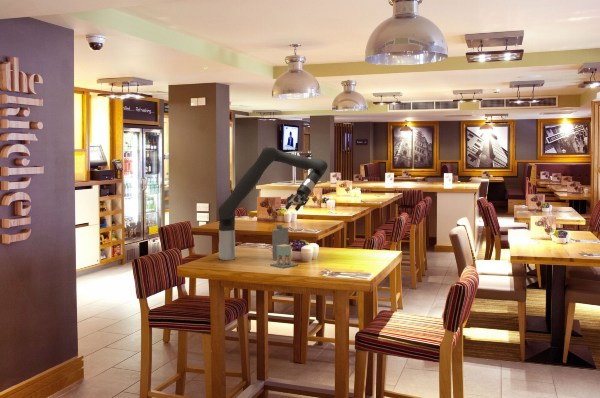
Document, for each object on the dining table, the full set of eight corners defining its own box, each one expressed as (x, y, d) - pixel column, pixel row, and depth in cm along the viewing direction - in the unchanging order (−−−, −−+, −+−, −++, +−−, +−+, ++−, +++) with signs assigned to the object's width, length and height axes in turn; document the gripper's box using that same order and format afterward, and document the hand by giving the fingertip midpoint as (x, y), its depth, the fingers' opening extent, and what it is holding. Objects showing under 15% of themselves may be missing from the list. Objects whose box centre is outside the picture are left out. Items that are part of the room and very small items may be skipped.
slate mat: (270, 265, 345) (270, 264, 345) (285, 263, 352) (285, 261, 352) (283, 268, 337) (283, 266, 336) (298, 265, 344) (298, 264, 344)
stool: (276, 264, 345) (276, 245, 344) (284, 262, 348) (284, 244, 347) (283, 265, 340) (283, 246, 340) (291, 264, 344) (290, 245, 343)
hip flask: (276, 260, 360) (275, 226, 359) (270, 259, 362) (269, 226, 361) (289, 256, 374) (289, 223, 373) (283, 255, 376) (283, 222, 375)
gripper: (294, 183, 362) (279, 204, 356) (311, 184, 352) (295, 205, 345) (301, 192, 366) (286, 212, 360) (317, 193, 356) (302, 214, 349)
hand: (291, 209), depth 352 cm, fingers open, 8 cm apart
